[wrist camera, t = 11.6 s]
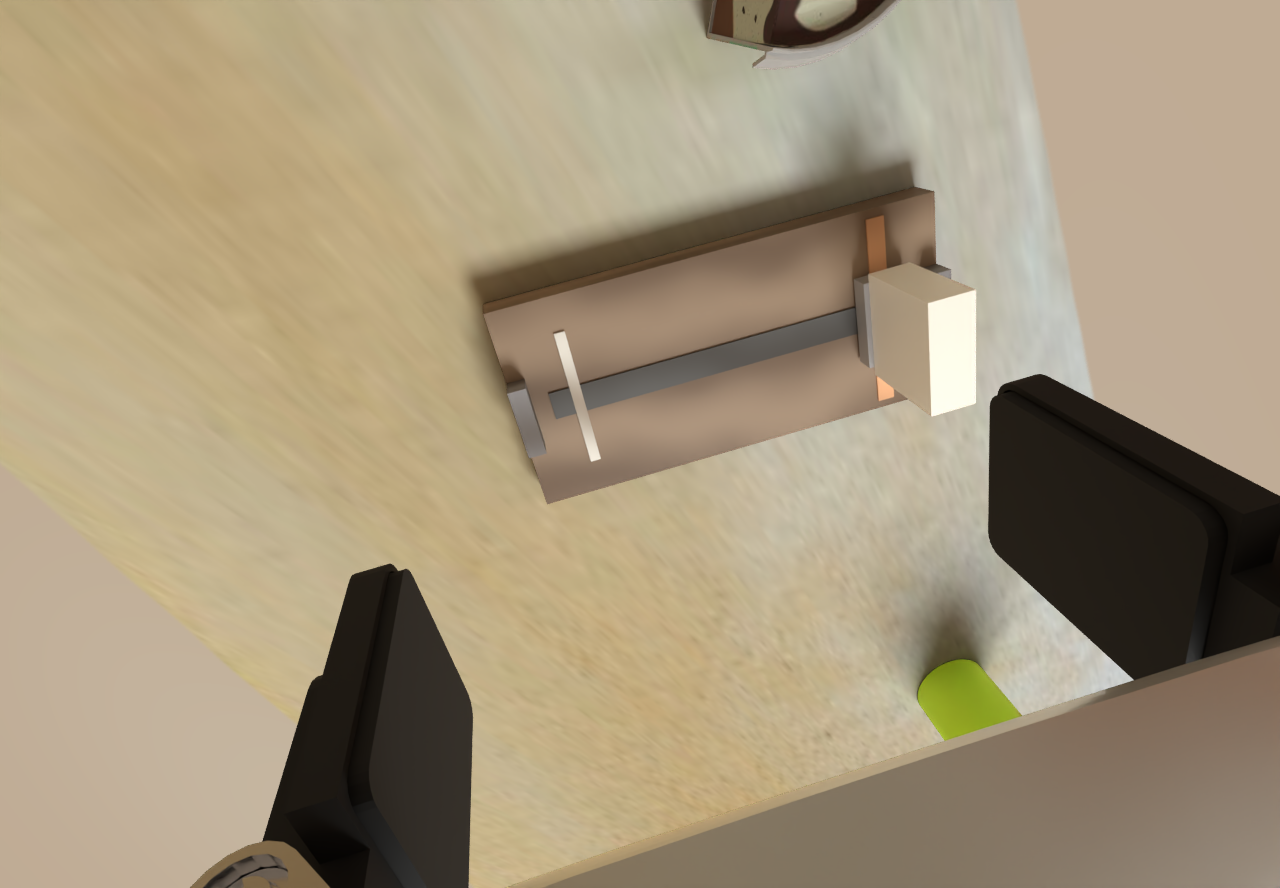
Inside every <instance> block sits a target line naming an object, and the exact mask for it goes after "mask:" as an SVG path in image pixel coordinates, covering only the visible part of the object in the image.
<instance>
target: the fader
mask: <svg viewBox="0 0 1280 888" xmlns="http://www.w3.org/2000/svg"><path fill="white" fill-rule="evenodd" d="M854 290H855V303H856V315H857V327H858V340H859V352H860V361H861V362H862V363H863V364H865V365H866V366H867V367H869V368H872V367H875V375H876V376H878V377H879V378H880V379H882V380H883V381H884V382H886V383H887V384H888V385H890V386H891V387H892V388H894V389H895V390H896V391H898V392H899V393H900V394H902V395H903V396H905V397H906V398H907V399H909V400H910V401H911V402H913V403H914V404H915V405H917V406H918V407H919V408H921V409H922V410H923V411H925V412H926V413H927V414H929V415H930V416H935V415H938V414H942V413H945V412H948V411H952V410H955V409H959V408H962V407H965V406H969V405H972V404H976V289H973V288H971V287H968V286H966V285H963V284H961V283H959V282H956V281H954V280H951V279H949V278H946V277H944V276H942V275H939V274H937V273H934V272H932V271H930V270H927V269H925V268H922V267H920V266H917V265H915V264H913V263H910V262H909V263H906V264H902V265H899V266H895V267H891V268H888V269H884V270H881V271H877V272H873V273H870V274H868V275H867V276H863V277H860V278H856V279H854Z"/></svg>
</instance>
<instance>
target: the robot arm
mask: <svg viewBox="0 0 1280 888" xmlns="http://www.w3.org/2000/svg"><path fill="white" fill-rule="evenodd" d="M988 534H989V539H990V543H991V545H992V547H993V549H994V550H995V552H996V553H997V554H998V555H999V557H1001V558H1002V559H1003V560H1004V561H1005V562H1006V563H1007V564H1008V565H1009V566H1010V567H1011V568H1013V569H1014V570H1015V571H1016V572H1017V573H1018V574H1019V575H1020V576H1021V577H1022V578H1023V579H1025V580H1026V581H1027V582H1028V583H1029V584H1030V585H1031V586H1032V587H1033V588H1034V589H1035V590H1037V591H1038V592H1039V593H1040V594H1041V595H1042V596H1043V597H1044V598H1045V599H1046V600H1047V601H1048V602H1050V603H1051V604H1052V605H1053V606H1054V607H1055V608H1056V609H1057V610H1058V611H1059V612H1060V613H1062V614H1063V615H1064V616H1065V617H1066V618H1067V619H1068V620H1069V621H1070V622H1071V623H1072V624H1074V625H1075V626H1076V627H1077V628H1078V629H1079V630H1080V631H1081V632H1082V633H1083V634H1084V635H1086V636H1087V637H1088V638H1089V639H1090V640H1091V641H1092V642H1093V643H1094V644H1095V645H1096V646H1098V647H1099V648H1100V649H1101V650H1102V651H1103V652H1104V653H1105V654H1106V655H1107V656H1108V657H1110V658H1111V659H1112V660H1113V661H1114V662H1115V663H1116V664H1117V665H1118V666H1119V667H1120V668H1122V669H1123V670H1124V671H1125V672H1126V673H1127V674H1128V675H1129V676H1130V677H1131V678H1132V679H1134V681H1130V682H1127V683H1124V684H1121V685H1118V686H1115V687H1112V688H1108V689H1105V690H1102V691H1099V692H1096V693H1093V694H1090V695H1086V696H1083V697H1080V698H1077V699H1074V700H1071V701H1068V702H1064V703H1061V704H1058V705H1055V706H1052V707H1049V708H1046V709H1042V710H1039V711H1036V712H1033V713H1030V714H1027V715H1024V716H1020V717H1017V718H1014V719H1011V720H1008V721H1005V722H1002V723H999V724H996V725H993V726H989V727H986V728H983V729H980V730H977V731H974V732H971V733H968V734H965V735H962V736H959V737H956V738H952V739H949V740H946V741H943V742H940V743H937V744H934V745H931V746H928V747H925V748H922V749H918V750H915V751H912V752H909V753H906V754H903V755H900V756H897V757H894V758H891V759H888V760H885V761H882V762H878V763H875V764H872V765H869V766H866V767H863V768H860V769H857V770H854V771H851V772H848V773H845V774H842V775H839V776H836V777H832V778H829V779H826V780H823V781H820V782H817V783H814V784H811V785H808V786H805V787H802V788H799V789H796V790H793V791H790V792H787V793H784V794H781V795H778V796H775V797H771V798H768V799H765V800H762V801H759V802H756V803H753V804H750V805H747V806H744V807H741V808H738V809H735V810H732V811H729V812H726V813H723V814H720V815H717V816H714V817H711V818H708V819H705V820H702V821H699V822H696V823H693V824H690V825H687V826H684V827H681V828H678V829H675V830H672V831H669V832H666V833H663V834H660V835H657V836H654V837H651V838H648V839H645V840H642V841H639V842H636V843H633V844H630V845H627V846H624V847H621V848H618V849H614V850H611V851H608V852H606V853H603V854H600V855H597V856H594V857H591V858H588V859H586V860H583V861H580V862H577V863H574V864H571V865H568V866H566V867H563V868H560V869H557V870H554V871H551V872H548V873H546V874H543V875H540V876H537V877H534V878H531V879H528V880H526V881H523V882H520V883H517V884H514V885H511V886H508V887H506V888H1280V496H1279V495H1277V494H1274V493H1273V492H1271V491H1269V490H1267V489H1265V488H1263V487H1261V486H1259V485H1257V484H1255V483H1253V482H1251V481H1250V480H1248V479H1246V478H1244V477H1242V476H1240V475H1238V474H1236V473H1234V472H1232V471H1230V470H1228V469H1226V468H1224V467H1222V466H1220V465H1219V464H1216V463H1214V462H1212V461H1211V460H1209V459H1207V458H1205V457H1203V456H1201V455H1199V454H1197V453H1195V452H1193V451H1191V450H1189V449H1187V448H1186V447H1183V446H1182V445H1180V444H1178V443H1176V442H1174V441H1172V440H1170V439H1168V438H1166V437H1164V436H1162V435H1160V434H1158V433H1156V432H1155V431H1152V430H1151V429H1148V428H1147V427H1145V426H1143V425H1141V424H1139V423H1137V422H1135V421H1133V420H1131V419H1129V418H1127V417H1125V416H1123V415H1122V414H1119V413H1117V412H1116V411H1114V410H1112V409H1110V408H1108V407H1106V406H1104V405H1102V404H1100V403H1098V402H1096V401H1094V400H1092V399H1090V398H1089V397H1087V396H1085V395H1083V394H1081V393H1079V392H1077V391H1075V390H1073V389H1071V388H1069V387H1067V386H1065V385H1063V384H1061V383H1059V382H1058V381H1056V380H1054V379H1052V378H1050V377H1048V376H1046V375H1042V374H1038V375H1033V376H1030V377H1026V378H1023V379H1019V380H1016V381H1013V382H1009V383H1006V384H1004V385H1002V386H1001V387H1000V389H999V391H998V395H997V396H995V397H993V398H992V400H991V402H990V436H989V516H988ZM472 731H473V713H472V706H471V701H470V698H469V695H468V693H467V690H466V688H465V686H464V684H463V682H462V680H461V678H460V675H459V673H458V671H457V669H456V667H455V665H454V663H453V661H452V658H451V656H450V654H449V652H448V650H447V648H446V646H445V644H444V641H443V639H442V637H441V635H440V633H439V631H438V629H437V627H436V624H435V622H434V620H433V618H432V616H431V614H430V612H429V609H428V607H427V605H426V603H425V601H424V599H423V597H422V595H421V592H420V590H419V588H418V586H417V584H416V582H415V580H414V578H413V576H412V574H411V572H410V571H409V570H408V569H404V570H401V571H398V570H397V569H396V568H395V566H394V565H392V564H387V565H384V566H380V567H377V568H373V569H370V570H366V571H363V572H360V573H356V574H354V575H352V576H351V578H350V581H349V584H348V588H347V591H346V595H345V598H344V602H343V605H342V609H341V612H340V616H339V619H338V623H337V626H336V630H335V633H334V637H333V640H332V644H331V648H330V651H329V655H328V658H327V662H326V665H325V669H324V672H323V675H321V676H318V677H316V678H315V679H314V680H313V681H312V682H311V685H310V687H309V689H308V692H307V695H306V698H305V702H304V705H303V708H302V712H301V715H300V718H299V722H298V725H297V728H296V732H295V735H294V738H293V741H292V745H291V748H290V751H289V755H288V758H287V761H286V765H285V768H284V772H283V775H282V778H281V782H280V785H279V788H278V791H277V795H276V798H275V801H274V804H273V808H272V811H271V814H270V818H269V821H268V825H267V828H266V831H265V835H264V838H263V841H262V842H260V843H255V844H252V845H248V846H246V847H244V848H242V849H240V850H238V851H236V852H234V853H232V854H230V855H228V856H226V857H225V858H223V859H222V860H221V861H219V862H218V863H217V864H215V865H214V866H213V867H211V868H210V869H209V870H207V871H206V872H205V873H204V874H203V875H202V876H201V877H200V878H199V879H198V880H197V881H196V882H195V883H194V884H193V885H192V886H191V887H190V888H468V883H469V845H470V807H471V769H472Z"/></svg>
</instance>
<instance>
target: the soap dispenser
mask: <svg viewBox="0 0 1280 888" xmlns="http://www.w3.org/2000/svg"><path fill="white" fill-rule="evenodd" d="M918 702H919V704H920V706H921V707H922V709H923V710H924V712H925V713H926V715H927V716H928V717H929V719H930V720H931V722H932V723H933V725H934V726H935V727H936V729H937V730H938V732H939V733H940V735H941V736H942V737H943V739H944V740H945V741H946V740H949V739H952V738H956V737H959V736H962V735H965V734H968V733H971V732H974V731H977V730H980V729H983V728H986V727H989V726H993V725H996V724H999V723H1002V722H1005V721H1008V720H1011V719H1014V718H1017V717H1020V716H1022V715H1021V714H1020V713H1019V711H1018V710H1017V709H1016V708H1015V707H1014V706H1013V704H1012V703H1011V702H1010V701H1009V700H1008V699H1007V697H1006V696H1005V695H1004V694H1003V693H1002V691H1001V690H1000V689H999V688H998V687H997V686H996V684H995V683H994V682H993V681H992V680H991V678H990V677H989V676H988V675H987V674H986V673H985V671H984V670H983V669H982V668H981V667H980V666H979V665H978V664H977V663H975V662H973V661H971V660H964V659H961V660H954V661H950V662H947V663H945V664H943V665H941V666H939V667H937V668H936V669H934V670H933V671H932V672H931V673H930V674H929V675H928V676H927V677H926V678H925V679H924V680H923V682H922V683H921V685H920V687H919V690H918Z"/></svg>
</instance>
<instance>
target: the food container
mask: <svg viewBox="0 0 1280 888" xmlns="http://www.w3.org/2000/svg"><path fill="white" fill-rule="evenodd" d="M900 1H901V0H713V2H712V8H711V14H710V20H709V26H708V32H707V38H709V39H713V40H718V41H722V42H727V43H731V44H735V45H740V46H744V47H749V48H753V49H758V50H762V51H765V55H764V56H762V57H761V58H760V59H758V60H757V61H756V62H754V63H753V67H752V68H762V69H783V68H793V67H799V66H803V65H806V64H810V63H813V62H817V61H820V60H822V59H824V58H826V57H828V56H830V55H832V54H834V53H837V52H839V51H841V50H842V49H844V48H845V47H847V46H848V45H850V44H851V43H852V42H854V41H855V40H857V39H858V38H860V37H861V36H863V35H864V34H866V33H867V32H868V31H870V30H871V29H873V28H874V27H875V26H876V25H877V24H878V23H880V22H881V21H882V20H883V19H884V18H885V17H886V16H887V15H888V14H889V13H890V12H891V11H892V10H893V9H894V8H895V7H896V6H897V4H898V3H899V2H900Z"/></svg>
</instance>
